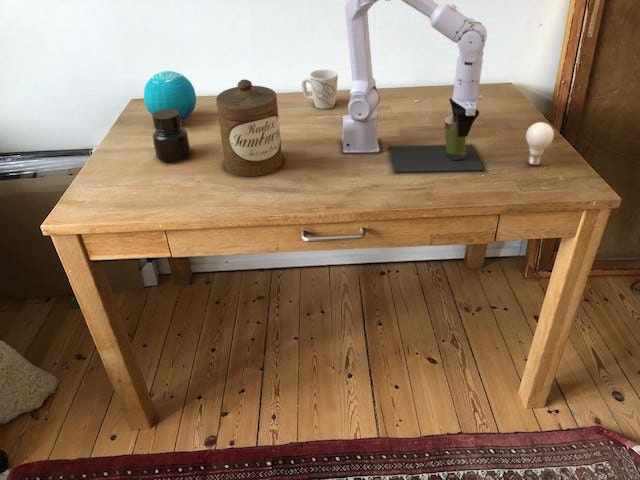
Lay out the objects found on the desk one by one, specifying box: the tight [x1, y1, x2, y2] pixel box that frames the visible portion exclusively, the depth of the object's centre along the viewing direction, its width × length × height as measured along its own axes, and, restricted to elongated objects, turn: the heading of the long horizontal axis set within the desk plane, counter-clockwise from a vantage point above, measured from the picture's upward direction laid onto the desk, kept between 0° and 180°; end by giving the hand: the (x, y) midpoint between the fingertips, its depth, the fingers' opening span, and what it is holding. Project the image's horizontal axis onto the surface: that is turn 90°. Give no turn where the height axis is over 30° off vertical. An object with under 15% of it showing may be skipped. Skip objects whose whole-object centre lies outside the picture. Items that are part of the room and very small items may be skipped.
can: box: [443, 114, 467, 160], centre depth 138 cm, size 5×5×10 cm
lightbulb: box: [525, 121, 555, 166], centre depth 134 cm, size 6×6×11 cm
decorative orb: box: [143, 70, 197, 123], centre depth 161 cm, size 15×15×15 cm
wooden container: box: [215, 78, 283, 177], centre depth 136 cm, size 15×15×22 cm
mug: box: [301, 69, 339, 110], centre depth 170 cm, size 11×8×10 cm
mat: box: [389, 144, 485, 174], centre depth 141 cm, size 22×14×1 cm, turn 90°
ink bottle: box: [151, 109, 192, 164], centre depth 143 cm, size 10×9×12 cm
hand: (460, 131), depth 137 cm, fingers closed on can, 5 cm apart
